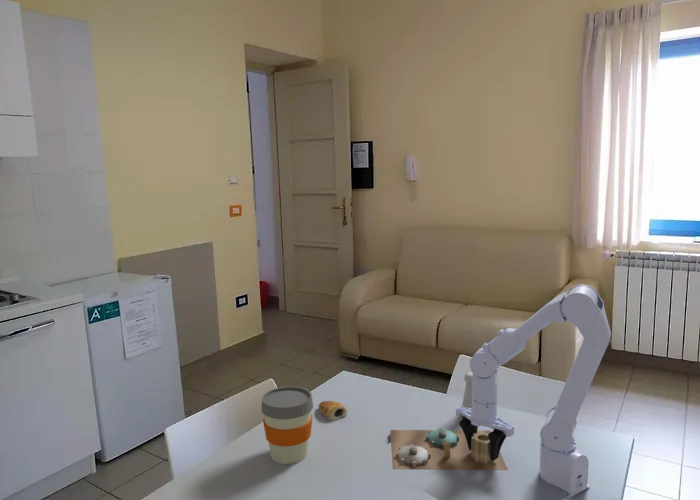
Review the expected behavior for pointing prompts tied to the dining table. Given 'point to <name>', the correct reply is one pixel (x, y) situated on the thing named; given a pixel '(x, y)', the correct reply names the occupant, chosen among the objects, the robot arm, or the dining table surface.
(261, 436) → the dining table surface
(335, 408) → the pastry
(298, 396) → the reusable coffee cup
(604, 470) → the dining table surface
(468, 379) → the salt shaker
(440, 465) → the gear board
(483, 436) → the wooden gear
